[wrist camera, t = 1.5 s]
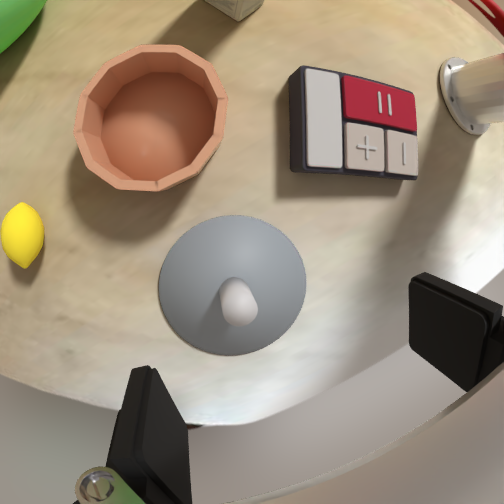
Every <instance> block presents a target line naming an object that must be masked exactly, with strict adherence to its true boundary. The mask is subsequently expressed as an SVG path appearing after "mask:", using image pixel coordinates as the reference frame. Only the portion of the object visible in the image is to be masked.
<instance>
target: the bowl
mask: <svg viewBox="0 0 504 504" xmlns="http://www.w3.org/2000/svg"><path fill="white" fill-rule="evenodd" d="M105 63H106V64H105ZM105 63H104V64H103V66H102V67H101V68H100V69H99V71H98V72H97V73H96V74H95V76H94V77H93V78H92V79H91V81H90V82H89V83H88V85H87V86H86V87H85V89H84V90H83V92H82V93H81V95H80V98H79V103H78V108H77V114H76V119H75V125H74V136H75V139H76V141H77V144H78V147H79V150H80V152H81V155H82V157H83V160H84V162H85V165H86V167H87V168H88V169H89V170H91V171H92V172H93V173H95V174H96V175H98V176H99V177H101V178H102V179H103V180H105V181H106V182H108V183H109V184H110V185H112V186H113V187H115V188H116V189H121V190H142V191H163V190H168V189H170V188H172V187H174V186H176V185H178V184H180V183H182V182H184V181H186V180H188V179H190V178H192V177H195V176H197V175H198V174H199V173H200V172H201V170H202V169H203V168H204V166H205V165H206V163H207V162H208V161H209V159H210V158H211V157H212V155H213V154H214V153H215V151H216V150H217V149H218V147H219V146H220V143H221V141H222V139H223V135H224V127H225V119H226V111H227V104H228V96H227V94H226V92H225V90H224V88H223V86H222V84H221V82H220V79H219V77H218V75H217V73H216V71H215V69H214V67H213V65H212V64H211V63H209V62H208V61H206V60H205V59H203V58H201V57H200V56H198V55H196V54H195V53H193V52H191V51H189V50H188V49H186V48H184V47H183V46H181V45H139V46H137V47H135V48H133V49H131V50H129V51H127V52H125V53H123V54H121V55H119V56H117V57H115V58H113V59H111V60H109V61H107V62H105Z"/></svg>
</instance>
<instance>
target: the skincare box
mask: <svg viewBox="0 0 504 504" xmlns="http://www.w3.org/2000/svg"><path fill="white" fill-rule="evenodd" d="M205 1H206V2H208V3H209V4H211V5H213V6H214V7H216V8H217V9H219V10H220V11H222V12H224V13H225V14H227V15H228V16H230V17H231V18H233V19H235V20H236V21H238V22H239V21H240V20H242V19H243V18H245V17H246V16H248V15H249V14H251V13H252V12H253V11H255V10H256V9H258V8H259V7H260V6H262V4H263V2H264V0H205Z"/></svg>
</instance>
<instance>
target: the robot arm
mask: <svg viewBox="0 0 504 504" xmlns="http://www.w3.org/2000/svg"><path fill="white" fill-rule="evenodd" d="M440 84H441V90H442V94H443V97H444V100H445V103H446V105H447V107H448V109H449V111H450V113H451V115H452V117H453V118H454V119H455V121H456V122H457V124H458V125H459V126H460V127H461V128H462V129H463V130H465V131H466V132H468V133H470V134H473V135H478V134H483V133H485V132H486V131H487V130H488V128H489V126H490V123H499V122H504V53H502V54H498V55H494V56H491V57H487V58H484V59H480V60H477V61H473V62H470V63H468V62H467V61H465V60H464V59H461V58H459V57H453V58H449V59H447V60H445V62H444V63H443V64H442V67H441V70H440ZM502 309H503V306H502V305H500V304H498V303H496V302H493V301H491V300H489V299H487V298H485V297H482V296H480V295H478V294H476V293H473V292H471V291H469V290H466V289H464V288H462V287H459V286H457V285H455V284H452V283H450V282H448V281H445V280H443V279H441V278H438V277H436V276H433V275H431V274H429V273H426V272H424V273H421V274H419V275H417V276H415V277H413V278H412V279H411V282H410V283H409V345H410V347H411V349H412V350H413V351H415V352H416V353H417V354H419V355H420V356H421V357H422V358H424V359H425V360H426V361H428V362H429V363H430V364H431V365H433V366H434V367H435V368H436V369H438V370H439V371H440V372H442V373H443V374H444V375H446V376H447V377H448V378H449V379H451V380H452V381H453V382H454V383H456V384H457V385H458V386H459V387H461V388H462V389H463V390H465V391H466V392H467V393H466V394H464V395H463V396H462V397H461V398H459V399H458V400H456V401H455V402H454V403H453V404H451V405H450V406H448V407H447V408H445V409H444V410H442V411H441V412H440V413H438V414H437V415H435V416H434V417H432V418H431V419H429V420H428V421H426V422H424V423H423V424H421V425H420V426H418V427H416V428H415V429H413V430H412V431H410V432H408V433H406V434H405V435H403V436H401V437H400V438H398V439H396V440H394V441H392V442H391V443H389V444H387V445H385V446H383V447H381V448H379V449H377V450H375V451H374V452H372V453H370V454H368V455H365V456H363V457H361V458H359V459H357V460H355V461H353V462H351V463H348V464H346V465H344V466H342V467H339V468H337V469H334V470H332V471H330V472H327V473H324V474H322V475H320V476H317V477H314V478H312V479H309V480H306V481H303V482H300V483H297V484H294V485H291V486H288V487H285V488H282V489H279V490H275V491H272V492H268V493H264V494H261V495H257V496H254V497H249V498H245V499H241V500H237V501H233V502H228V503H223V504H504V317H503V316H502ZM75 494H76V497H77V499H78V500H77V501H76V502H74V503H73V504H192V495H191V483H190V466H189V446H188V430H187V426H186V423H185V422H184V420H183V418H182V416H181V415H180V413H179V411H178V409H177V407H176V405H175V404H174V402H173V400H172V398H171V396H170V394H169V392H168V391H167V389H166V387H165V385H164V383H163V381H162V379H161V377H160V375H159V373H158V371H157V369H156V368H153V369H151V367H150V366H148V365H147V366H142V367H138V368H133V369H132V371H131V374H130V378H129V381H128V385H127V389H126V392H125V396H124V400H123V404H122V408H121V410H119V412H118V415H117V419H116V423H115V427H114V431H113V436H112V440H111V444H110V448H109V453H108V458H107V462H106V467H95V468H92V469H89V470H87V471H86V472H84V473H83V474H82V475H81V476H80V478H79V479H78V480H77V483H76V485H75Z"/></svg>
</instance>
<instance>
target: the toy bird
mask: <svg viewBox="0 0 504 504" xmlns="http://www.w3.org/2000/svg"><path fill="white" fill-rule="evenodd" d="M46 1H47V0H0V53H2V52H3V51H4V50H5V49H7V48H8V47H9V46H10V45H11V44H12V43H13V42H14V41H15V40H17V39H18V38H19V37H20V35H21V34H22V33H23V32H24V31H25V30H26V29H27V28H28V27H29V25H30V24H31V23H32V22H33V20H34V19H35V18H36V16H37V15H38V14H39V12H40V11H41V9H42V8H43V6H44V5H45V3H46Z"/></svg>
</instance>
